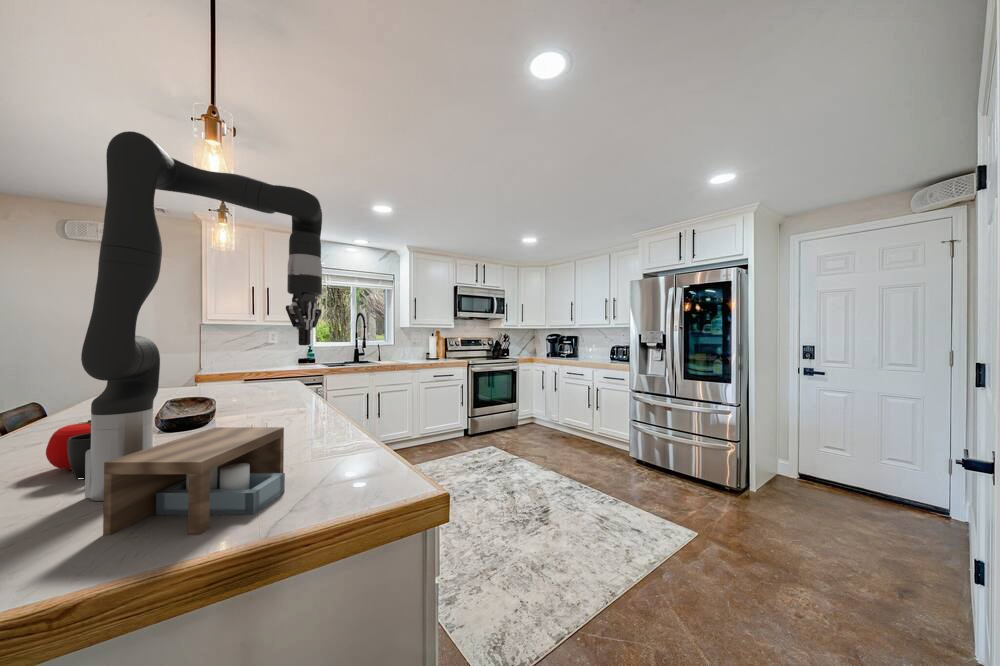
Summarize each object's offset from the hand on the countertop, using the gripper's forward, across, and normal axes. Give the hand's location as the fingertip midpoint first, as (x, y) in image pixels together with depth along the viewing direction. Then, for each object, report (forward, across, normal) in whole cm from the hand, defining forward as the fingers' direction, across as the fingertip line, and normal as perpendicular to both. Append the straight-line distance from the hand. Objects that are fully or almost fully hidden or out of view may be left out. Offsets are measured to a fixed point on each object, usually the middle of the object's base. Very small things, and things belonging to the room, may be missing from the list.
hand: (304, 345), depth 91 cm
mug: (+31, +3, -47) cm, 56 cm away
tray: (+31, +17, -7) cm, 36 cm away
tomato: (+31, -4, -57) cm, 65 cm away
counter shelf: (+31, +17, -10) cm, 37 cm away
